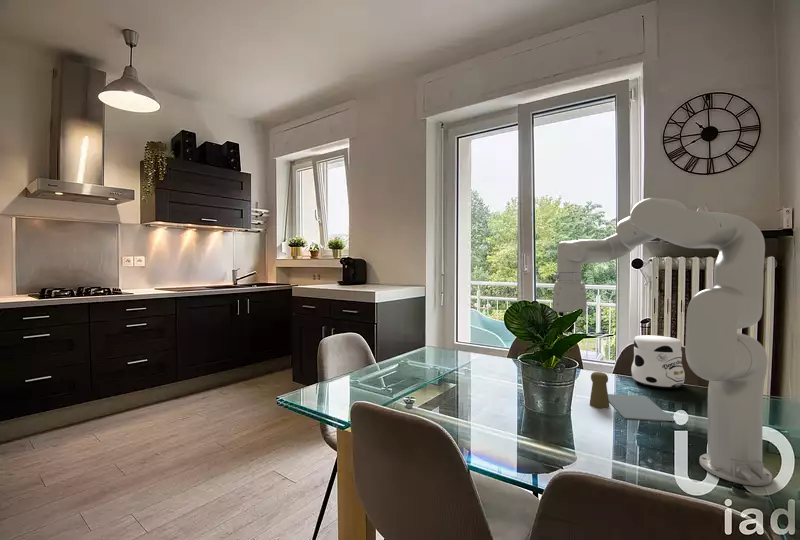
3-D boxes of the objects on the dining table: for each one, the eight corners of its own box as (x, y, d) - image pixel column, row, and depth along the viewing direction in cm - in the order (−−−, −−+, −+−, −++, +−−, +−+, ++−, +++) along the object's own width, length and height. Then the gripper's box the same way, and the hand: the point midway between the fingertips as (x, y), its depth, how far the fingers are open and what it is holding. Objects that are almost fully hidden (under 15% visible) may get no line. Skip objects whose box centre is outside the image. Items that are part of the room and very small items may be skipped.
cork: (612, 409, 128) (612, 375, 127) (592, 408, 129) (592, 374, 129) (606, 402, 134) (606, 370, 133) (587, 401, 135) (587, 370, 135)
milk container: (687, 395, 140) (687, 345, 139) (631, 387, 149) (630, 340, 149) (682, 382, 155) (682, 336, 154) (631, 376, 164) (631, 333, 163)
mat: (675, 422, 117) (675, 420, 117) (624, 418, 120) (624, 417, 120) (645, 397, 138) (645, 396, 138) (602, 394, 141) (602, 393, 141)
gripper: (547, 278, 129) (547, 333, 130) (596, 278, 126) (595, 334, 127) (544, 277, 137) (543, 328, 137) (590, 277, 134) (589, 330, 134)
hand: (568, 331), depth 132 cm, fingers closed
